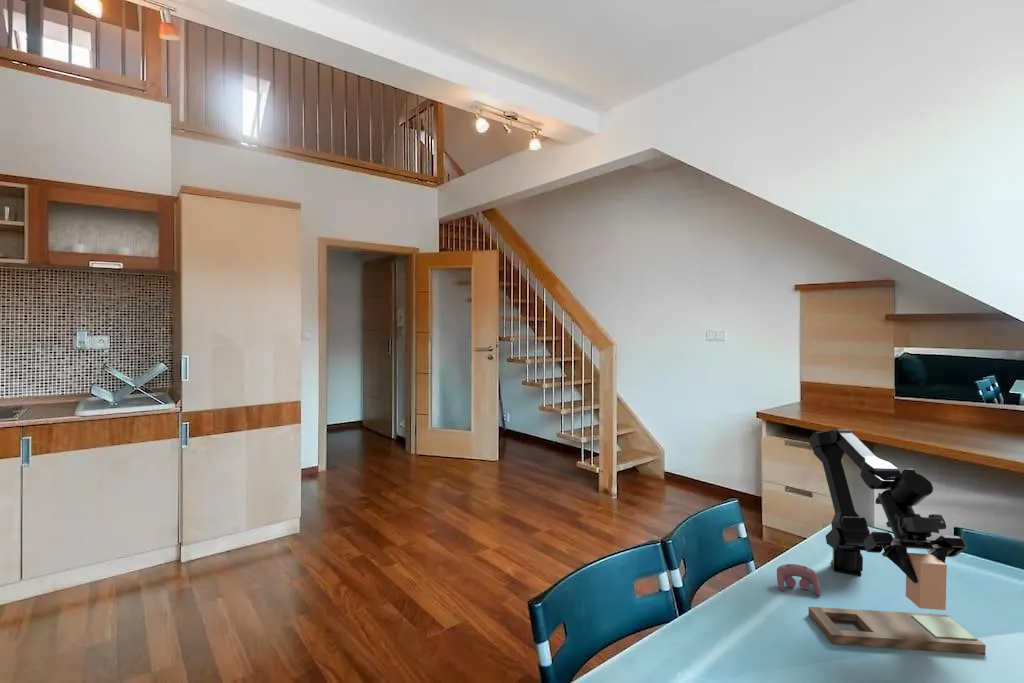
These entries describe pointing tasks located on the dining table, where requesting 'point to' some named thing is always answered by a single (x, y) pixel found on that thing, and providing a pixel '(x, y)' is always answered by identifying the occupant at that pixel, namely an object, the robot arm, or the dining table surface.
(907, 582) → the block
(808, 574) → the video game controller
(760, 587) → the dining table surface
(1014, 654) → the dining table surface
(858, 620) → the board
